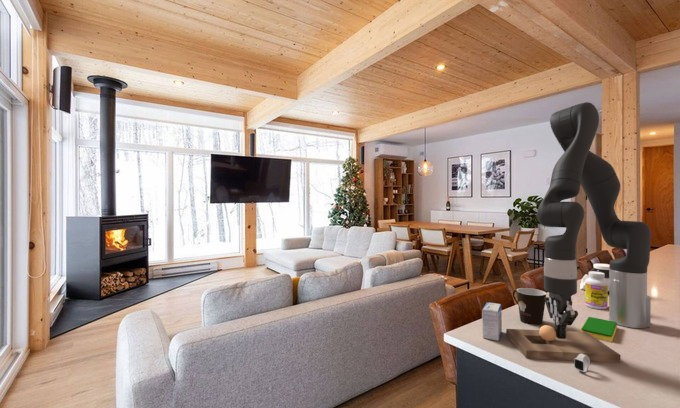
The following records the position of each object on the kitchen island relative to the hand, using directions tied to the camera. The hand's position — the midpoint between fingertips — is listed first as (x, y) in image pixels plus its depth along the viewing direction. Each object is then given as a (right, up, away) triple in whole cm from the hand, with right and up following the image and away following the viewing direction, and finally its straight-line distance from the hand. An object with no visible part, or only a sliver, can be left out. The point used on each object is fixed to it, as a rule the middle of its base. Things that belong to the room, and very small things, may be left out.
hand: (560, 337), depth 90 cm
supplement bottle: (+35, -2, +33) cm, 48 cm away
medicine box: (-14, -3, +9) cm, 17 cm away
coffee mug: (+4, -3, +21) cm, 21 cm away
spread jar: (+51, -2, +52) cm, 73 cm away
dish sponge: (+19, -3, +11) cm, 22 cm away
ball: (-3, +1, +1) cm, 3 cm away
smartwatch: (-3, -4, -12) cm, 13 cm away
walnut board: (0, -3, 0) cm, 3 cm away
